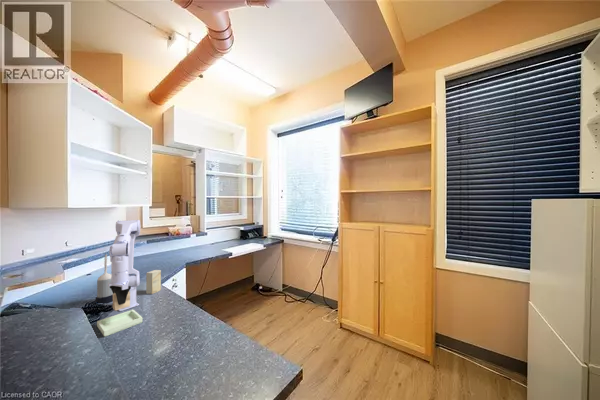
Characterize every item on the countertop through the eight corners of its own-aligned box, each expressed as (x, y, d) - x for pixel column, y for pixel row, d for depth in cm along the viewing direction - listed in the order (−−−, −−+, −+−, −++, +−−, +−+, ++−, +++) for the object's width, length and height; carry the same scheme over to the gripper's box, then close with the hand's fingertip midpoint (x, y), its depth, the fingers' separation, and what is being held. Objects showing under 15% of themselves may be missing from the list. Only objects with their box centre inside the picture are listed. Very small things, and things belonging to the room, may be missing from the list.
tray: (97, 326, 91) (97, 321, 91) (133, 313, 101) (133, 309, 101) (104, 337, 84) (104, 331, 84) (142, 322, 94) (142, 317, 94)
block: (112, 307, 92) (112, 293, 92) (127, 303, 96) (127, 290, 96) (115, 310, 90) (115, 296, 90) (130, 306, 94) (130, 292, 94)
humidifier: (117, 296, 121) (117, 252, 122) (112, 302, 114) (112, 255, 114) (99, 299, 118) (99, 254, 118) (92, 305, 110) (92, 257, 111)
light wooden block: (152, 294, 123) (152, 273, 124) (145, 293, 124) (145, 272, 125) (161, 290, 130) (161, 269, 130) (155, 289, 131) (155, 269, 131)
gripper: (103, 270, 94) (103, 301, 94) (112, 276, 85) (112, 311, 85) (123, 266, 100) (124, 295, 100) (134, 272, 91) (134, 304, 91)
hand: (120, 302), depth 93 cm, fingers closed on block, 4 cm apart
